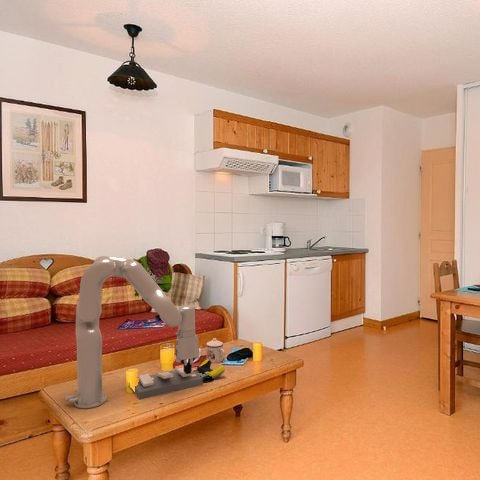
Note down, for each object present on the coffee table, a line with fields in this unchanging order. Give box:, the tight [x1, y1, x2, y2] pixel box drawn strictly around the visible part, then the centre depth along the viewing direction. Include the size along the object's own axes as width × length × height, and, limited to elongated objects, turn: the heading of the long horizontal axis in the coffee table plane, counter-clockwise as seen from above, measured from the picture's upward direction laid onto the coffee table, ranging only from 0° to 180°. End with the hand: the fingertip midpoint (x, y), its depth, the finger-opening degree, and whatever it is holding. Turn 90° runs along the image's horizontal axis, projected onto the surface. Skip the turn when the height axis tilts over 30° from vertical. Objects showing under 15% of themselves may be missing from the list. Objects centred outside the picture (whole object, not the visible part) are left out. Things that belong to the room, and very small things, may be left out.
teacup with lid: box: [205, 337, 226, 364], centre depth 215 cm, size 12×9×12 cm
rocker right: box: [174, 364, 192, 377], centre depth 187 cm, size 4×10×1 cm, turn 31°
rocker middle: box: [155, 370, 173, 379], centre depth 182 cm, size 4×10×1 cm, turn 31°
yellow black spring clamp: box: [195, 358, 226, 379], centre depth 195 cm, size 15×6×10 cm
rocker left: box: [137, 370, 154, 387], centre depth 178 cm, size 4×10×1 cm, turn 30°
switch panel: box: [134, 369, 204, 400], centre depth 183 cm, size 29×16×4 cm, turn 121°
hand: (187, 372), depth 183 cm, fingers closed
